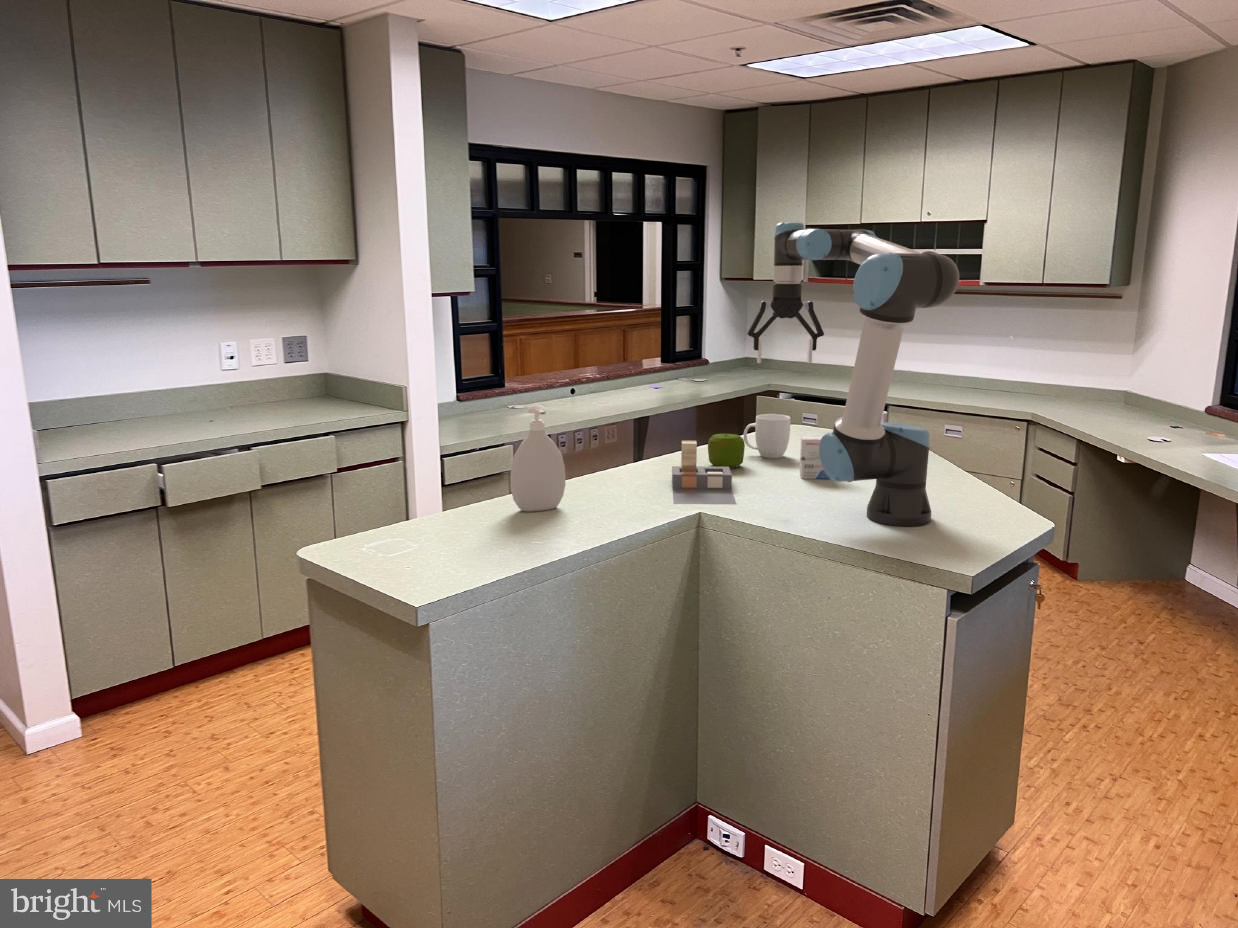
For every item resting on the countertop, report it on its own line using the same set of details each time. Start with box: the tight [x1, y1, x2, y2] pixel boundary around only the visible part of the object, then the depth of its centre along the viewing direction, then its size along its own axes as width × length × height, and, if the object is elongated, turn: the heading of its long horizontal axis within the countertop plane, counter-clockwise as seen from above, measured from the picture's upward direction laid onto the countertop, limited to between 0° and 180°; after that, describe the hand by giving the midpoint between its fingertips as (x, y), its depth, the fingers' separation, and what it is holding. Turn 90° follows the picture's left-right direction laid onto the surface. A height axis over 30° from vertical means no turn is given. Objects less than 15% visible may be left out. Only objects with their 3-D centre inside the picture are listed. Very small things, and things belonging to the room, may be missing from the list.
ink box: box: [799, 436, 832, 480], centre depth 256 cm, size 9×5×12 cm, turn 84°
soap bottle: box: [509, 403, 566, 513], centre depth 220 cm, size 14×8×27 cm, turn 114°
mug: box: [743, 413, 791, 460], centre depth 284 cm, size 15×11×13 cm
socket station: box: [671, 465, 737, 505], centre depth 237 cm, size 26×16×6 cm, turn 178°
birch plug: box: [680, 440, 698, 472], centre depth 243 cm, size 4×4×12 cm
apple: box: [707, 432, 746, 470], centre depth 270 cm, size 11×11×11 cm
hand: (784, 362), depth 238 cm, fingers open, 13 cm apart
